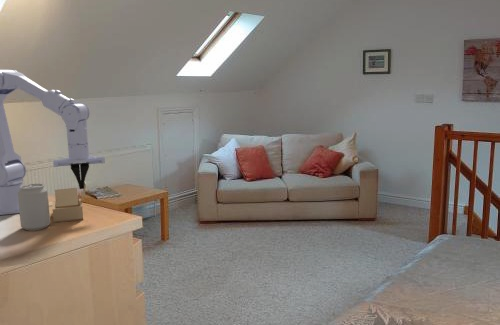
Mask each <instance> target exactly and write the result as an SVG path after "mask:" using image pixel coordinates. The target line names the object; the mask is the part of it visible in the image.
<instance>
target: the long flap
mask: <svg viewBox="0 0 500 325" xmlns="http://www.w3.org/2000/svg"><path fill="white" fill-rule="evenodd" d="M54 193H55V194H54V197H55V201H56V207H61V206H71V205H78V199H79V196H78V187H71V188H61V189H54Z"/></svg>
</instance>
